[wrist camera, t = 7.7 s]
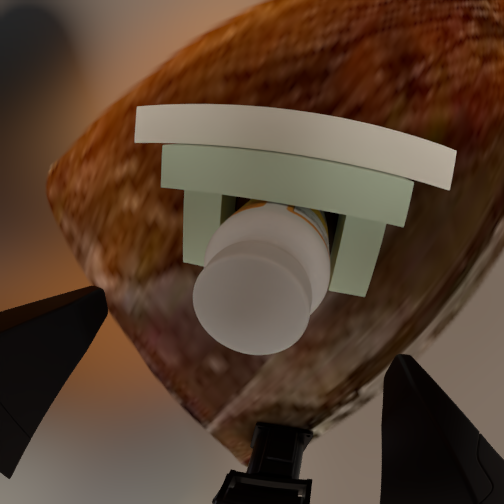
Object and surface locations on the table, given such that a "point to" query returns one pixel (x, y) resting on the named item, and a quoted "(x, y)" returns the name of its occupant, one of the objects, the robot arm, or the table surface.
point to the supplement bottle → (263, 276)
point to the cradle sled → (288, 200)
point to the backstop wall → (298, 137)
